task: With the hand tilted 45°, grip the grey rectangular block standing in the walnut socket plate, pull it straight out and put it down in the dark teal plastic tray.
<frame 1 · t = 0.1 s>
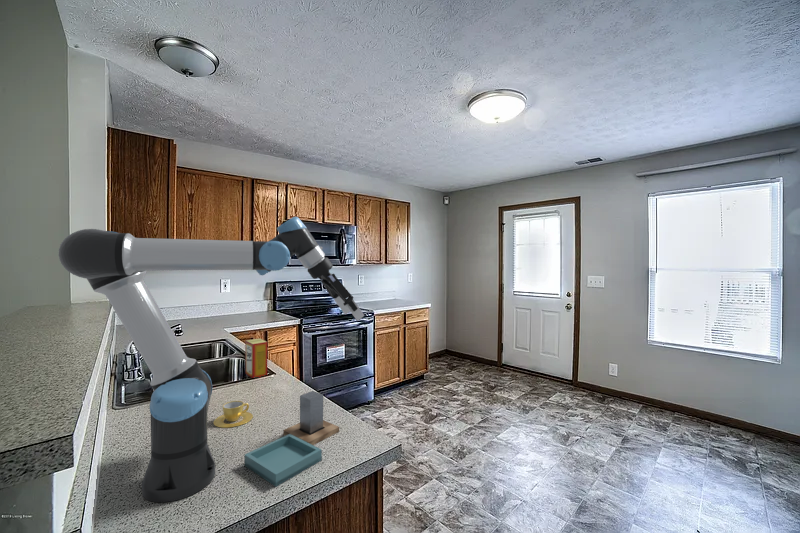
hand: (354, 314, 118), 36 cm above the counter, tool tilted 35°, fingers open, 13 cm apart
socket plate: (311, 433, 111), on the counter
grey rectangular block: (311, 414, 111), in the socket plate
cup: (233, 420, 120), on the counter
tray: (283, 463, 95), on the counter
baking soda box: (256, 375, 165), on the counter
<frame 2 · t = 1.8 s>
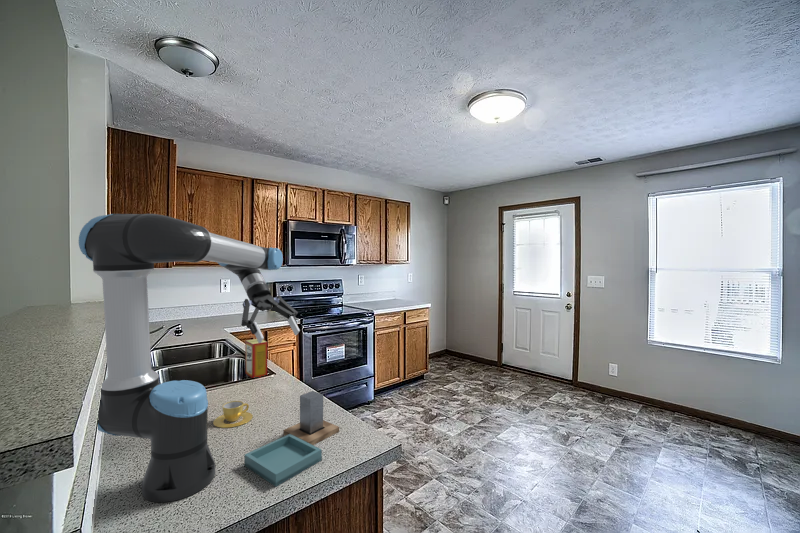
hand: (280, 336, 120), 28 cm above the counter, tool tilted 45°, fingers open, 13 cm apart
nothing on the counter moved.
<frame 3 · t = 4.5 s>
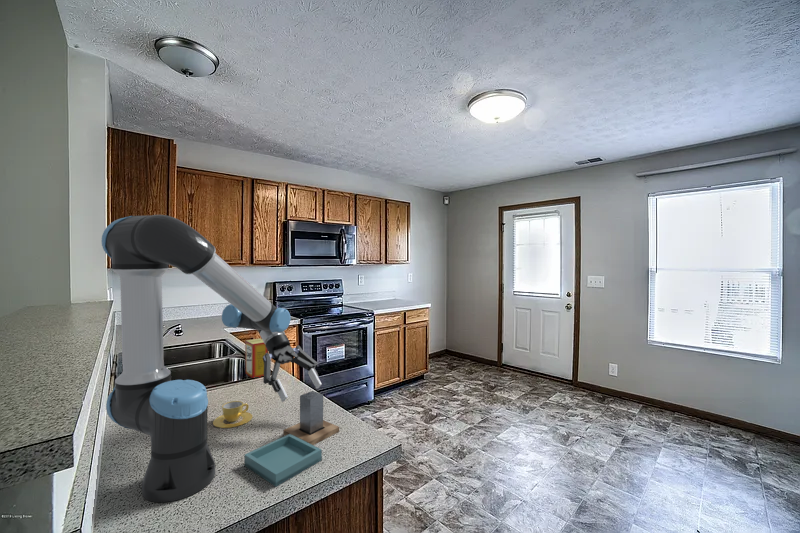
hand: (302, 392, 116), 11 cm above the counter, tool tilted 45°, fingers open, 13 cm apart
nothing on the counter moved.
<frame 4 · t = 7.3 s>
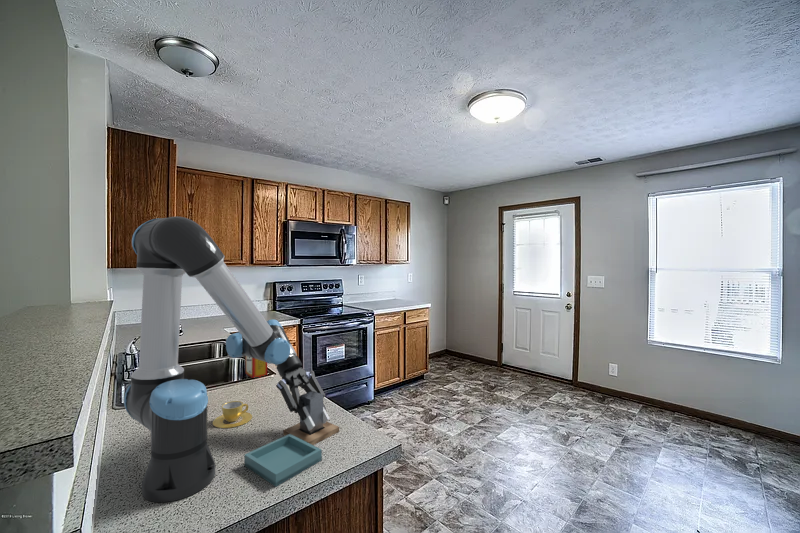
hand: (319, 424, 109), 4 cm above the counter, tool tilted 45°, fingers closed on grey rectangular block, 5 cm apart
grey rectangular block: (311, 414, 111), in the socket plate, touching gripper
everything else where it was.
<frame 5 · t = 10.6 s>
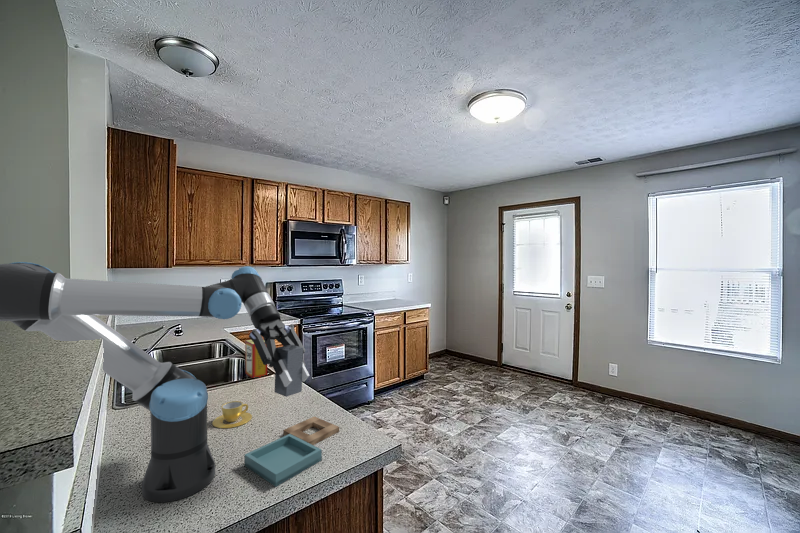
hand: (297, 380, 94), 22 cm above the counter, tool tilted 45°, fingers closed on grey rectangular block, 5 cm apart
grey rectangular block: (289, 369, 96), point 24 cm above the counter, touching gripper
everything else where it was.
when the fingers open (7 cm above the counter, at t = 14.2 s): grey rectangular block drops 2 cm, resting on tray.
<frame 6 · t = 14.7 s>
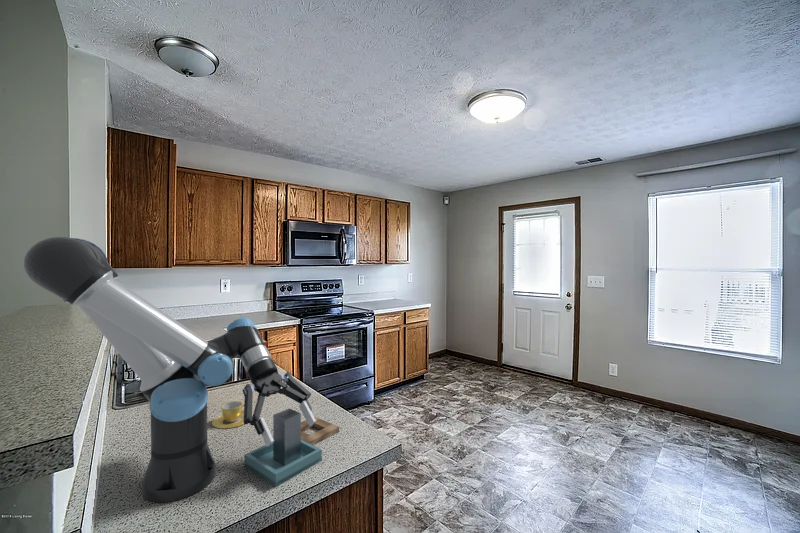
hand: (292, 433, 94), 9 cm above the counter, tool tilted 45°, fingers open, 12 cm apart
grey rectangular block: (287, 436, 95), in the tray, point 7 cm above the counter
everything else where it was.
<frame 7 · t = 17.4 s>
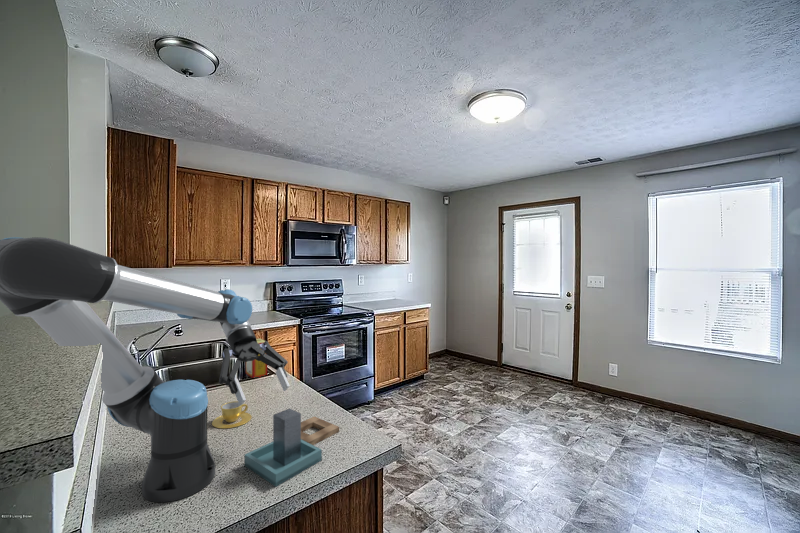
hand: (266, 395, 100), 16 cm above the counter, tool tilted 45°, fingers open, 13 cm apart
nothing on the counter moved.
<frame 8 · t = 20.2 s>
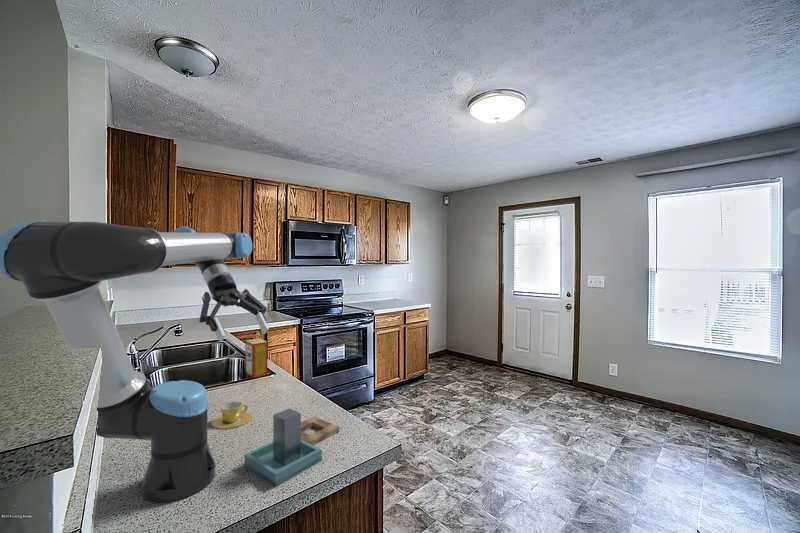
hand: (245, 335, 105), 32 cm above the counter, tool tilted 45°, fingers open, 13 cm apart
nothing on the counter moved.
at the end: grey rectangular block inside the target area on the tray (0.9 cm from its centre), point 7.0 cm above the tray's base; grey rectangular block moved 16.0 cm from its start; the gripper is holding nothing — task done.
